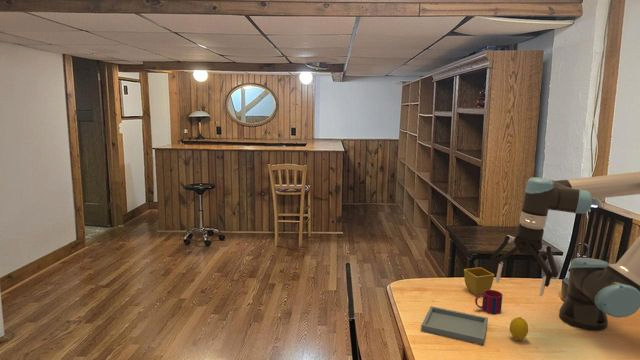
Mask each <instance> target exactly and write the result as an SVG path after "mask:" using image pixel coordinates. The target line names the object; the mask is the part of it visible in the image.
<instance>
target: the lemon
mask: <svg viewBox="0 0 640 360" xmlns="http://www.w3.org/2000/svg"><path fill="white" fill-rule="evenodd" d="M509 324H510V325H509V333H510V334H511V336H512V337H513V338H515V339H516V340H517V341H519V340H523V339H525V338H526V337H527V335H528V333H529V325H528V322H527V321H526V320H525V319H524V318H523V317H521V316H519V317H515V318H514V317H513V319H512V320H511V322H510V323H509Z"/></svg>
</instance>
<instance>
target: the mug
mask: <svg viewBox="0 0 640 360" xmlns="http://www.w3.org/2000/svg"><path fill="white" fill-rule="evenodd" d="M503 296H504V295H503V293H502V292H500V291H498V290H494V289H490V290H485V291H484V292H483V295H476V297H475V299H474V303H475V305H476V306H477V308H479V309H482V312H485V313H487V314H490V315H499V314H501V313H502V305H503ZM480 297H481V298H482V304H481V306H480V305H478V299H479V298H480Z"/></svg>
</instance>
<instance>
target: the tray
mask: <svg viewBox="0 0 640 360" xmlns="http://www.w3.org/2000/svg"><path fill="white" fill-rule="evenodd" d="M426 313H427V314H426V315H425V317H424V319H423V321H422V324H421V326H420V328H421V329H420V332H423V333H428V334H431V335H437V336H440V337H445V338H449V339H454V340H458V341H463V342H467V343H470V344H475V345H480V346H484V344H485V340H486V339H485V338H486V333H487V328H488V321H489V317H485V316H482V315H476V314H472V313H471V314H470V313H465V312H461V311H456V310H452V309H447V308H443V307H442V308H441V307H437V306H432V305H430V307H429V309H428V311H427V312H426Z"/></svg>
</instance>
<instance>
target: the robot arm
mask: <svg viewBox="0 0 640 360" xmlns="http://www.w3.org/2000/svg"><path fill="white" fill-rule="evenodd" d="M634 195H640V171H634V172H625V173H616V174H606V175H597V176H589V177H579V178H570V179H561V180H553V179H547V178H542V177H530V178H529V179H528V181H527V183H526V186H525V190H524V196H523V200H522V201H523V202H522V207H521V210H520V211H521V212H520V217H519V224H518V227H517V232H516V236H515V237H514V236H512V235H511V234H508V235H505V237H504V241H503V242H502V244H500V246H498V247H497V249H496V250H495V252H494V253H493V254H492V255H491V256H490V259H491V260H492V261H494V262H495V265H494V272H496V277H495V283H496V284H498V283H499V282H500V280H501V275H502V270H503V267H504V265H503V264H504V262H503V261H504V260H505V259H507V258H508V257H510V256H512V255H513V254H514V253H516V252H519V253H520V254H525V255H527V256H533V257H534V258H535V259H536V261H537V263H538V264H539V266H540V268H541V270H542V271H543V273H544V274H543V278H542V283H541V287H540V290H539V296H540V297H543V295H544V293H545V289H546V288H545V287H549V286H550V284H551V283H550V282H551V279H552V278H557V277H558V275H559V272H558V268H557V265H556V261H555V257H554V255H553V252H552V251H553V246H552V245H551V244H543V237H544V234H545V233H544V232H545V230H544V228H545V227H546V222H547V218H548V214H549V211H558V212H564V213H565V212H566V213H573V214H583V215H584V214H586V213H588V212H589V211H590V210H591V208H592V203H593V200H595V199H604V198H606V199H607V198H615V197H624V196H634ZM512 242H514V245H515V246H514V247H513V248H511V249H510V250H508V251H507V252H505V253H504V254H502V255H501V256H499V254H501V252H502V251H503V250H504V248H506V247H507V245H508V244H510V243H512ZM541 249H543V251H544V253H546V258H547V260H548V261H547V262H548V264H549V267H550V268H549V267H548V265H547V263H546V262H545V259H544V258H543V257H542V254H541V252H540V251H541ZM568 275H569V276H568V286H567V291H566V293H567V294H566V297H565V300H563V303H562V305H561V306H560V308H559V313H558V315H559V319H560V320H561V321H562V322H564V323H565V324H567V325H569V326H571V327H573V328H576V329H579V330H580V329H581V330H586V331H593V332H600V331H604V330H606V329H608V324H609V323H608V322H609V320H608V316H610V317H611V318H612V317H613V318H619V319H620V318H627V317H630V316H633V315H634V314H636V313H637V311H639V309H640V235H639V236H638V237H637V238H636V239H635V240H634V242H633V243H632V244H631V245H630V246H629V247H628V249H627V250H626V251H625V252H624V254H623V255H622V256H621V257H620V258H619V260H617V262H615V263H609V262H608V261H605V260H602V259H598V258H597V259H596V258H591V257H576V258H573V259H572V260H571V263H570V266H569V274H568Z"/></svg>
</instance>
